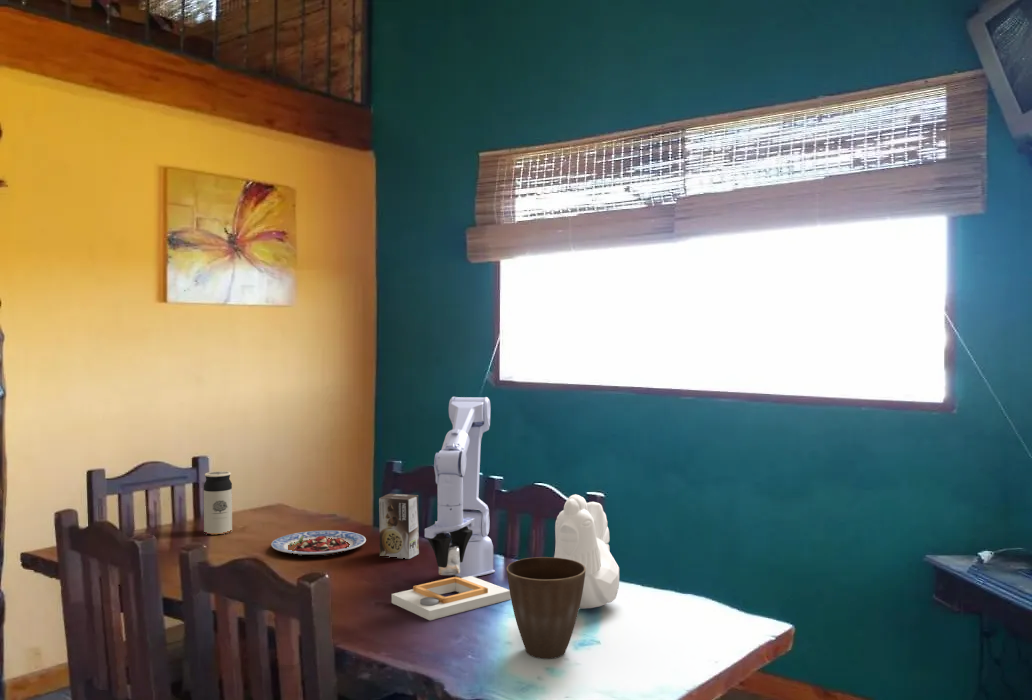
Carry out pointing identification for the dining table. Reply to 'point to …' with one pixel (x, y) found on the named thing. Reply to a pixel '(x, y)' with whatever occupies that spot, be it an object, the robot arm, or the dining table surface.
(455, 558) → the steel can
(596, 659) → the dining table surface
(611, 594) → the decorative rooster
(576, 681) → the dining table surface
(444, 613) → the white flat frame
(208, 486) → the travel mug
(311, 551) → the ceramic plate
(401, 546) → the coffee box
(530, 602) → the plant pot
